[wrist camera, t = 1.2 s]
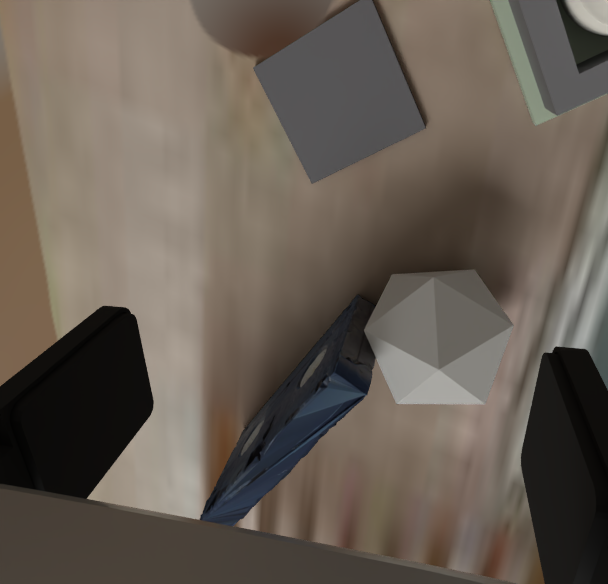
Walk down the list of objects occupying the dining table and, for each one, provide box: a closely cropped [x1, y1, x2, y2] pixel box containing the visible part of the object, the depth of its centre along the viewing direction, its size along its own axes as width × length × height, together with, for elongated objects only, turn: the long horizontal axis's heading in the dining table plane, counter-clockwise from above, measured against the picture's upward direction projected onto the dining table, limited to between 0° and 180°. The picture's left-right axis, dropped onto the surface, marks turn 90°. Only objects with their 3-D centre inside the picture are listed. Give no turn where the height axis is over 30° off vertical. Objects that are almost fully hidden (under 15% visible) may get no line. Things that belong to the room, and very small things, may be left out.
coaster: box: [253, 0, 426, 183], centre depth 31 cm, size 8×8×1 cm
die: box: [364, 269, 514, 404], centre depth 32 cm, size 8×9×10 cm
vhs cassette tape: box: [200, 295, 376, 526], centre depth 37 cm, size 18×3×10 cm, turn 146°
